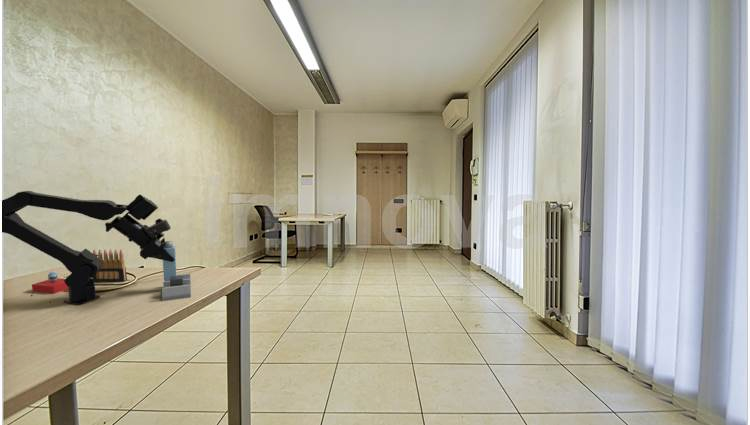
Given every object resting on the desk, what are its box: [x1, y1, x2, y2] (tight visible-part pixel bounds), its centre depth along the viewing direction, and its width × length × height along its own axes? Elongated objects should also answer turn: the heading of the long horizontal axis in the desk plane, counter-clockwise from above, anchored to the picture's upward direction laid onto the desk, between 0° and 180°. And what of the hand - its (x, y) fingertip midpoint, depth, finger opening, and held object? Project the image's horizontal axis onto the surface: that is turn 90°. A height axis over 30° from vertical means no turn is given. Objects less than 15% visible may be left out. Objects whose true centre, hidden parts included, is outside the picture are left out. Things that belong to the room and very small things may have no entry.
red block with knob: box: [31, 271, 68, 295], centre depth 114 cm, size 8×7×6 cm
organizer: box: [161, 273, 192, 302], centre depth 116 cm, size 8×14×6 cm, turn 29°
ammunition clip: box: [91, 249, 128, 283], centre depth 123 cm, size 11×2×12 cm, turn 98°
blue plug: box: [162, 240, 177, 281], centre depth 116 cm, size 4×4×13 cm
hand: (174, 259), depth 117 cm, fingers closed on blue plug, 4 cm apart
